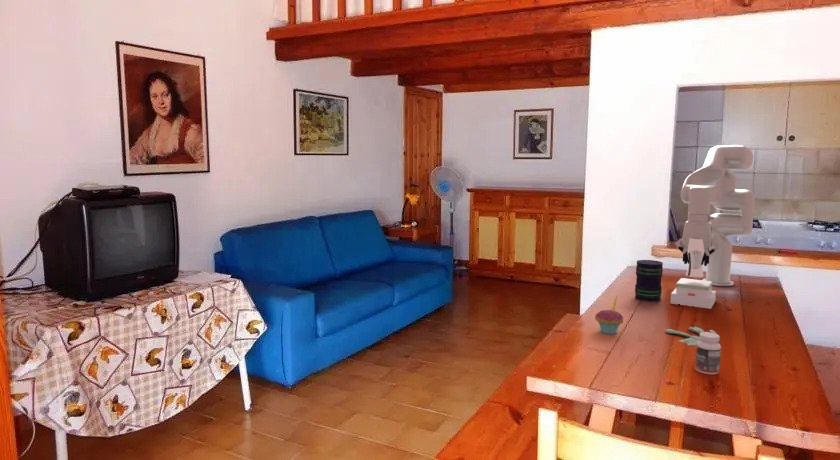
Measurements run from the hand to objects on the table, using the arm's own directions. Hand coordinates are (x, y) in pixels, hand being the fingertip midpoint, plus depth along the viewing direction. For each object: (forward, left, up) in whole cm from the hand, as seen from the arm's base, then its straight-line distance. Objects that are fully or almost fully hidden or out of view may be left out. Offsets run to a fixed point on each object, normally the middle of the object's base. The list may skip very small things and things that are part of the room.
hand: (695, 264), depth 217 cm
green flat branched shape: (+45, +6, -16) cm, 48 cm away
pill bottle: (+77, +14, -15) cm, 80 cm away
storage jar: (+4, -16, -15) cm, 22 cm away
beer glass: (0, 0, -5) cm, 5 cm away
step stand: (0, 0, -15) cm, 15 cm away
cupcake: (+57, -17, -15) cm, 61 cm away
